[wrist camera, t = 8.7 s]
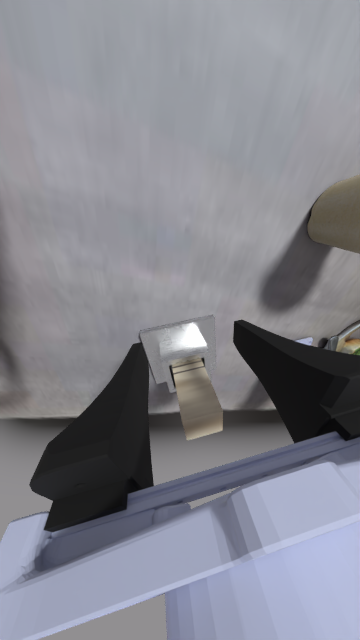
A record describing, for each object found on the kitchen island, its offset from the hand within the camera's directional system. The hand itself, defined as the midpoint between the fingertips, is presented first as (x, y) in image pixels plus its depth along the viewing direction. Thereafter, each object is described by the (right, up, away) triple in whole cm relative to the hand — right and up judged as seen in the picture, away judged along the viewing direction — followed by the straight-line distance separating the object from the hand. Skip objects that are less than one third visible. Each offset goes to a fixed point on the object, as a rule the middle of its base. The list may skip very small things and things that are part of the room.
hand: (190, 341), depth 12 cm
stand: (-1, -3, +14) cm, 14 cm away
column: (0, -5, +11) cm, 12 cm away
